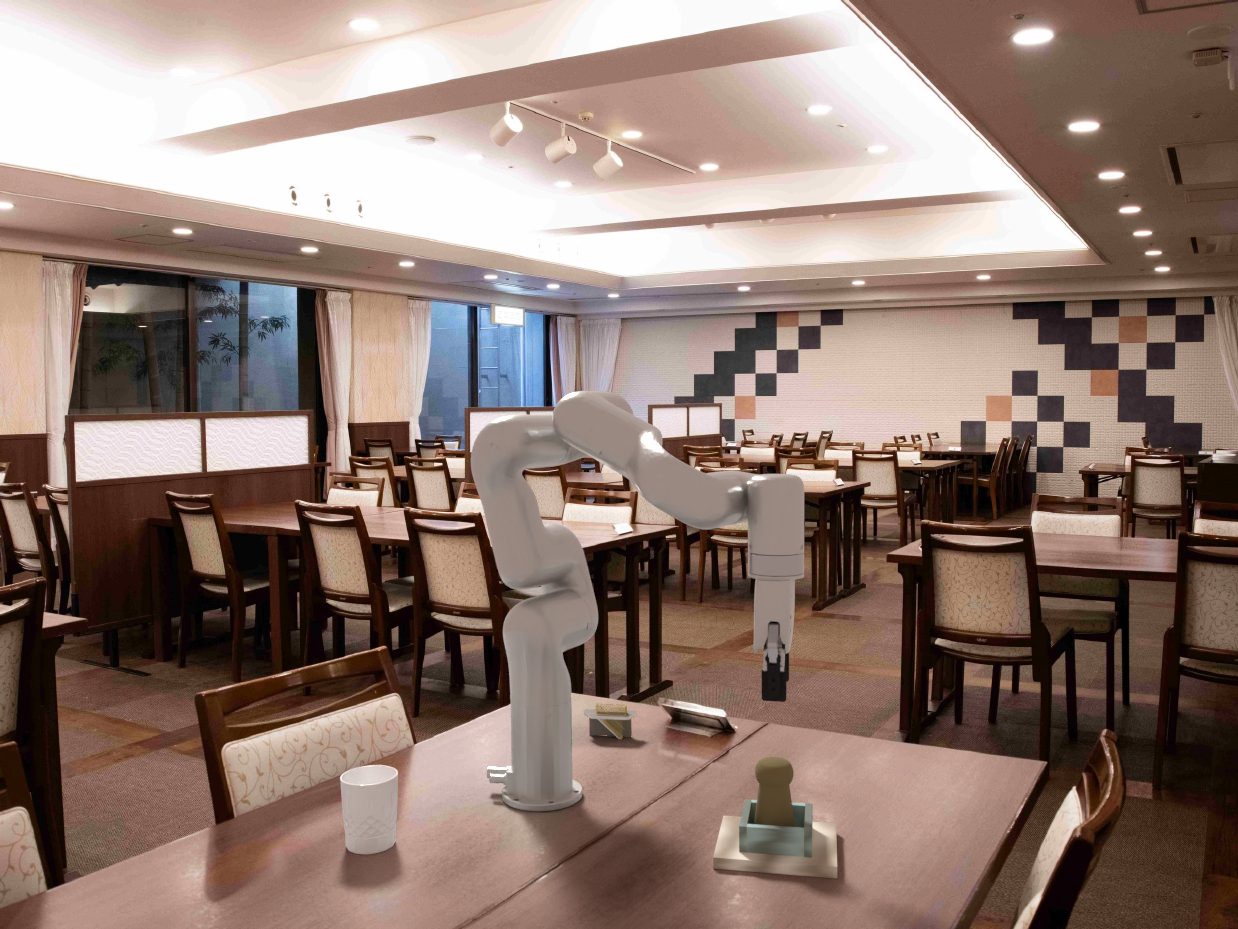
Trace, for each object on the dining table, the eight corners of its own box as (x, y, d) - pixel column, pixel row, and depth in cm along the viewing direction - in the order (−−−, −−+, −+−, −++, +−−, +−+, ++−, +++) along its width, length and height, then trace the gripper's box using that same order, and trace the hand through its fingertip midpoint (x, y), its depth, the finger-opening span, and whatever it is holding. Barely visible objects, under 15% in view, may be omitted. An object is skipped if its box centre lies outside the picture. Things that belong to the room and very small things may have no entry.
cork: (796, 849, 134) (796, 768, 134) (750, 846, 136) (750, 766, 135) (797, 830, 140) (797, 753, 140) (753, 827, 142) (753, 751, 141)
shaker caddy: (713, 868, 132) (712, 831, 132) (723, 825, 146) (723, 791, 146) (837, 878, 129) (837, 840, 129) (836, 833, 143) (836, 799, 143)
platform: (654, 753, 179) (653, 716, 179) (555, 748, 182) (554, 713, 181) (661, 731, 191) (661, 697, 190) (568, 728, 193) (568, 694, 193)
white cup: (341, 860, 136) (340, 787, 136) (341, 836, 144) (340, 768, 143) (401, 853, 138) (399, 781, 138) (398, 830, 146) (396, 762, 145)
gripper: (752, 555, 145) (752, 673, 146) (742, 575, 128) (742, 707, 129) (805, 556, 143) (805, 675, 144) (802, 576, 126) (802, 710, 127)
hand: (775, 690), depth 137 cm, fingers open, 9 cm apart
